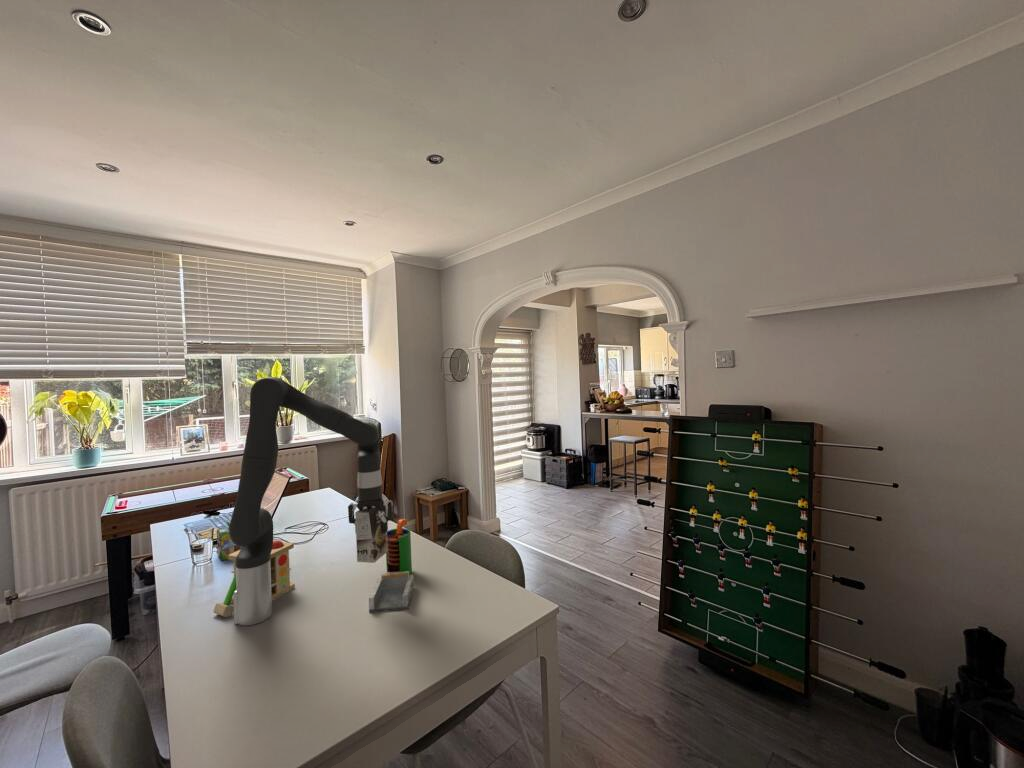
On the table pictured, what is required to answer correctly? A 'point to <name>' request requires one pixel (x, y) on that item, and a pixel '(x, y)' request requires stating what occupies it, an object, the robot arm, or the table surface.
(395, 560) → the motor
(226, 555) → the chalk box
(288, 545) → the pounding bench toy
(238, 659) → the table surface
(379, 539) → the coffee box
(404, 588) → the grey open tray
